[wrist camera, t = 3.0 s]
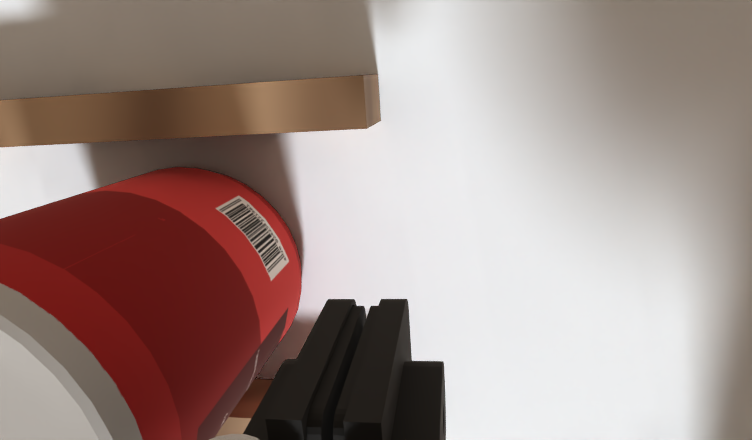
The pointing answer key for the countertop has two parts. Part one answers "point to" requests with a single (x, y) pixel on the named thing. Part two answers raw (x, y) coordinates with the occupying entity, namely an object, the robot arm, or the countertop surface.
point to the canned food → (141, 307)
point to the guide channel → (196, 130)
